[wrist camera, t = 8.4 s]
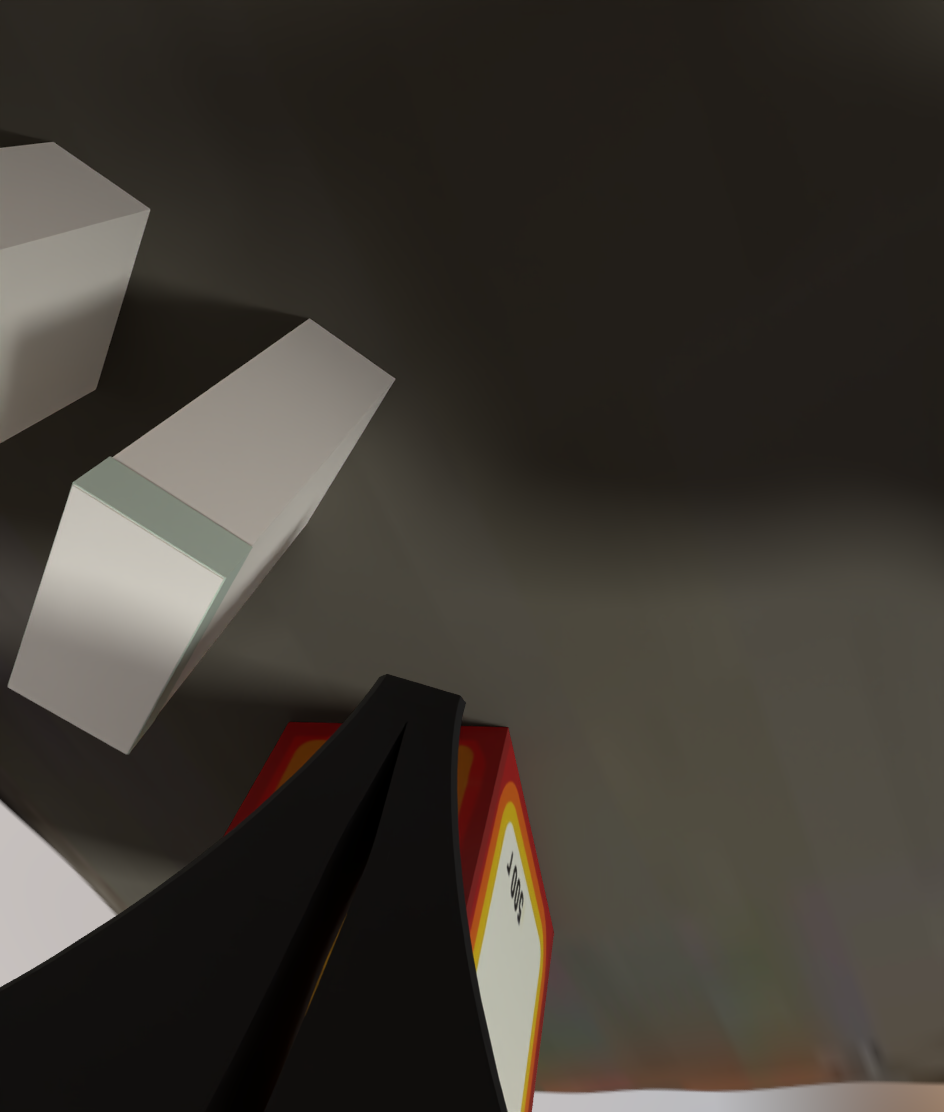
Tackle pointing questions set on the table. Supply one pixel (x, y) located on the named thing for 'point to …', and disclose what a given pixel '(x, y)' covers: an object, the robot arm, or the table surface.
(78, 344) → the domino
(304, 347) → the domino head
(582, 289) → the table surface
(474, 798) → the baking soda box
